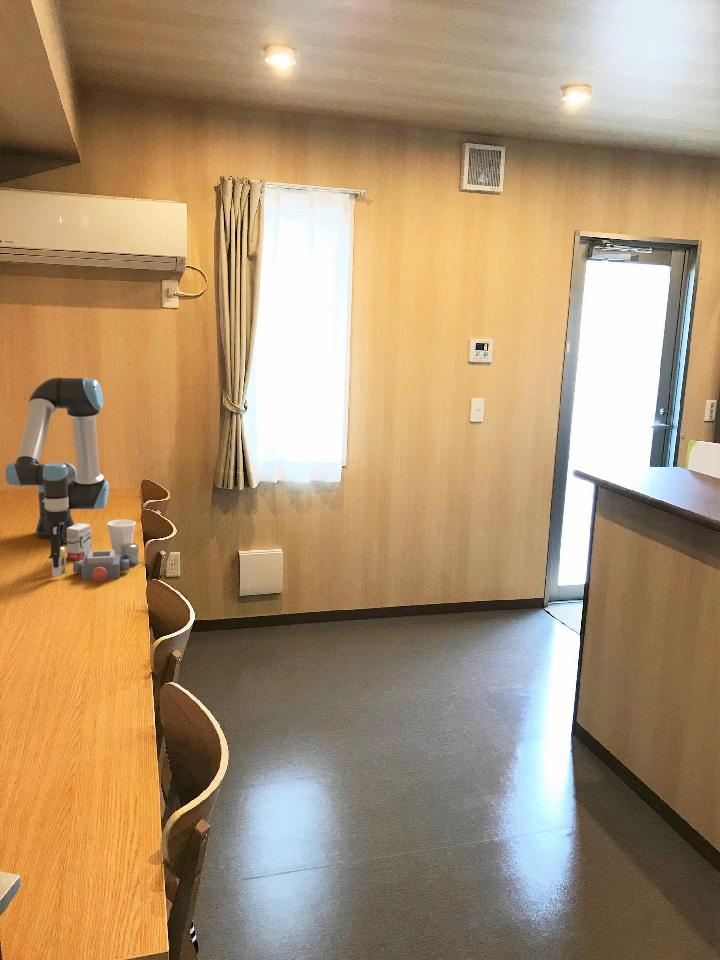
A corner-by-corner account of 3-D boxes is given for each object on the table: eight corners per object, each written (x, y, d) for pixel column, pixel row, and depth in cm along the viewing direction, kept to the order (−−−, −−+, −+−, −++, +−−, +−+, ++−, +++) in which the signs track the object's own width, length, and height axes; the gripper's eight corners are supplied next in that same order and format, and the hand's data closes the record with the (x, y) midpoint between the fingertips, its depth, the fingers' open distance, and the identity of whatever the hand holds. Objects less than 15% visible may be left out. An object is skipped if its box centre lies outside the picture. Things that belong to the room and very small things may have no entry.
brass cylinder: (53, 570, 245) (52, 546, 243) (66, 570, 246) (65, 545, 244) (52, 574, 241) (51, 549, 240) (65, 574, 242) (63, 549, 241)
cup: (141, 554, 266) (141, 521, 264) (125, 562, 257) (124, 527, 255) (119, 551, 270) (118, 518, 267) (102, 558, 260) (101, 524, 258)
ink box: (79, 561, 257) (77, 529, 254) (66, 559, 257) (65, 528, 255) (92, 554, 265) (91, 523, 262) (80, 552, 266) (79, 522, 263)
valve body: (75, 569, 248) (75, 549, 247) (129, 566, 253) (129, 547, 252) (70, 584, 233) (69, 564, 232) (128, 581, 238) (127, 561, 237)
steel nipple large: (121, 561, 258) (121, 543, 256) (138, 561, 259) (138, 542, 258) (120, 567, 252) (120, 548, 251) (138, 566, 254) (138, 547, 252)
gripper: (49, 501, 250) (52, 559, 254) (39, 518, 227) (42, 582, 231) (72, 500, 252) (74, 558, 256) (64, 517, 229) (66, 581, 233)
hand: (59, 569), depth 244 cm, fingers open, 12 cm apart
